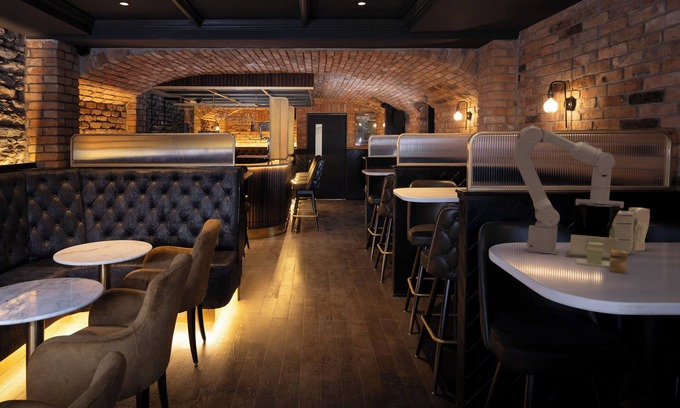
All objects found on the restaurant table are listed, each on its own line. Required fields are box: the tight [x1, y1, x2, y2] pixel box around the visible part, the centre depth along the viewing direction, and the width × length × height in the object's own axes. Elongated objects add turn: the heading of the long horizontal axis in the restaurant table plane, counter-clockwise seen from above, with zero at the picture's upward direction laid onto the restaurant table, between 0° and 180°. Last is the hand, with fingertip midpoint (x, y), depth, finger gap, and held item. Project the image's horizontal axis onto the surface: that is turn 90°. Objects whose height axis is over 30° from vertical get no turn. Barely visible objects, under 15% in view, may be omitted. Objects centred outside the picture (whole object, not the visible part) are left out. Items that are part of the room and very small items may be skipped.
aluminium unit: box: [565, 234, 619, 261], centre depth 167 cm, size 16×5×7 cm, turn 66°
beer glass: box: [628, 207, 651, 252], centre depth 182 cm, size 7×7×15 cm
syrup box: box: [608, 210, 633, 255], centre depth 177 cm, size 6×6×14 cm
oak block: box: [608, 250, 629, 274], centre depth 150 cm, size 4×4×6 cm
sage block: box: [587, 242, 603, 264], centre depth 159 cm, size 4×4×6 cm
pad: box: [575, 258, 610, 268], centre depth 159 cm, size 10×7×1 cm
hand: (597, 227), depth 172 cm, fingers open, 7 cm apart
